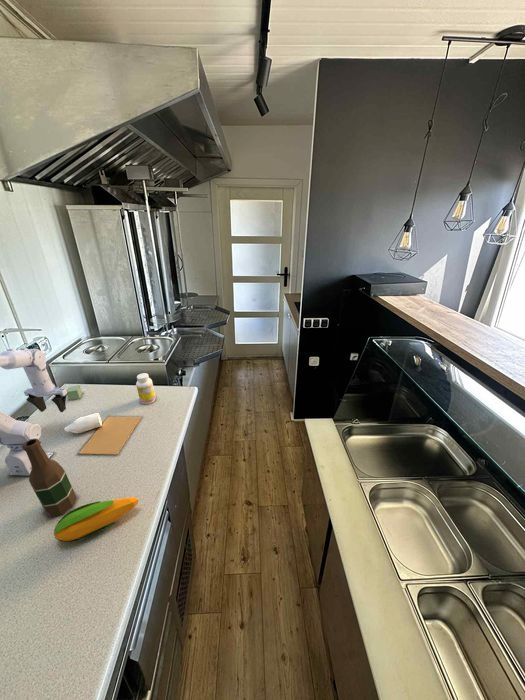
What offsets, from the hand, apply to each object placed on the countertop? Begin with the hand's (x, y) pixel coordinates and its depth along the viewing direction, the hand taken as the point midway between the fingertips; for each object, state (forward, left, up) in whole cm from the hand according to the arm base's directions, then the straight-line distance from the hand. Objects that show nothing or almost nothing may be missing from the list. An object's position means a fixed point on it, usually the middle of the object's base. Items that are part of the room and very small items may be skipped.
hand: (53, 410), depth 108 cm
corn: (-36, -37, -10) cm, 52 cm away
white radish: (0, -10, -10) cm, 13 cm away
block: (+22, +8, -10) cm, 25 cm away
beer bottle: (-31, -22, -10) cm, 39 cm away
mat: (-2, -22, -10) cm, 24 cm away
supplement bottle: (+20, -27, -10) cm, 35 cm away
